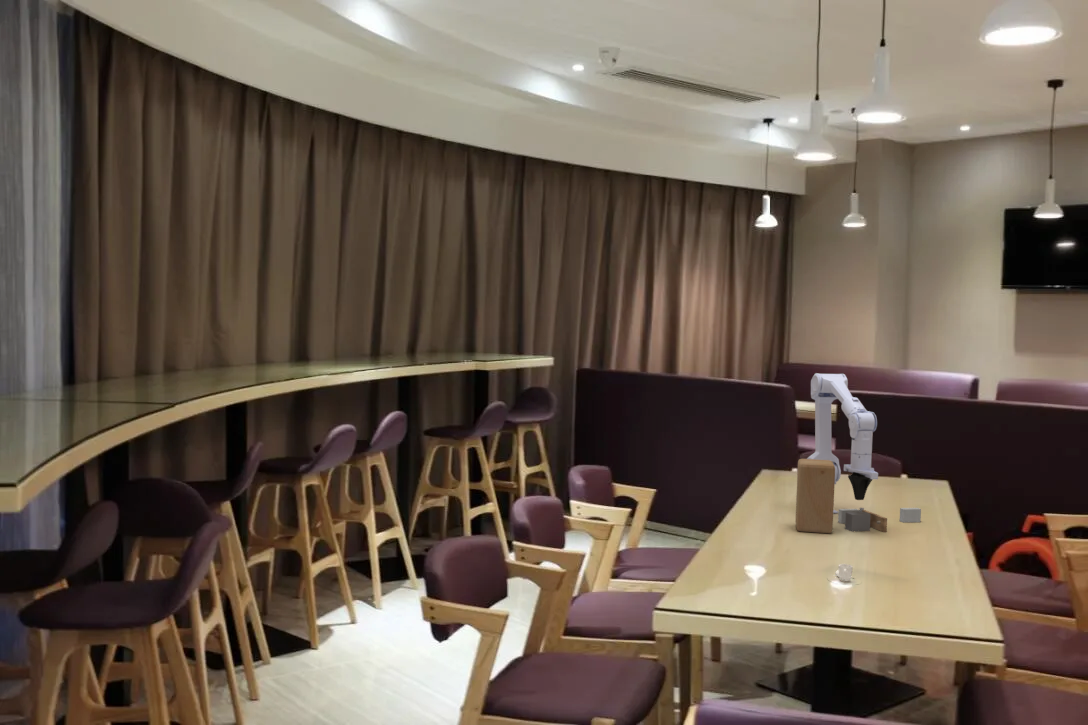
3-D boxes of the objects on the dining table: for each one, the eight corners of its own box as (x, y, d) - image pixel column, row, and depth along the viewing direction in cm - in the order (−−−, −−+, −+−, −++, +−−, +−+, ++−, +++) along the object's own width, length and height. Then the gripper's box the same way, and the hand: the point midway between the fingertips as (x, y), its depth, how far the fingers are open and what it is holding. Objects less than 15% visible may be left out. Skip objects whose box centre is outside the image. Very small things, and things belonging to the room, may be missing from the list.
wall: (841, 523, 302) (841, 509, 301) (838, 522, 304) (838, 507, 303) (920, 522, 306) (921, 507, 306) (916, 520, 308) (917, 506, 308)
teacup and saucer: (836, 575, 246) (837, 558, 246) (868, 581, 241) (869, 564, 240) (821, 582, 239) (822, 565, 239) (853, 589, 234) (854, 571, 234)
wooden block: (832, 534, 287) (835, 465, 286) (796, 532, 289) (799, 463, 288) (829, 526, 297) (832, 459, 296) (795, 524, 299) (797, 457, 298)
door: (859, 523, 303) (859, 510, 302) (864, 523, 303) (865, 510, 303) (881, 532, 291) (881, 518, 291) (886, 531, 292) (887, 518, 292)
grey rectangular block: (851, 531, 291) (852, 514, 291) (844, 529, 295) (845, 512, 294) (869, 531, 293) (870, 514, 293) (862, 528, 296) (863, 511, 296)
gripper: (888, 457, 287) (886, 504, 287) (859, 449, 301) (857, 494, 301) (866, 457, 285) (864, 505, 286) (838, 449, 299) (836, 495, 299)
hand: (859, 499), depth 293 cm, fingers closed
